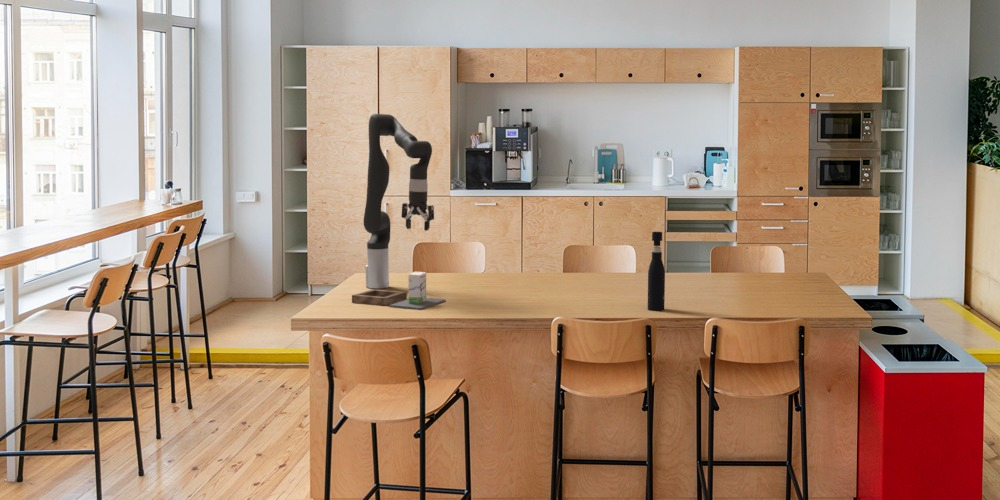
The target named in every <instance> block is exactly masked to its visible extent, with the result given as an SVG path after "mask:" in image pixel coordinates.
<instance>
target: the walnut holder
mask: <svg viewBox="0 0 1000 500" xmlns="http://www.w3.org/2000/svg"><path fill="white" fill-rule="evenodd" d="M405 300H408V295H407V291H398V290H386V289H385V290H384V289H376V288H372V289H370V290H366V291H362V292H358V293H356V294H351V303H353V304H363V305H373V306H374V305H376V306H390V305H392V304H395V303H398V302H401V301H405Z"/></svg>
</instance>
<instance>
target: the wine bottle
mask: <svg viewBox="0 0 1000 500" xmlns="http://www.w3.org/2000/svg"><path fill="white" fill-rule="evenodd" d="M651 241H652V242H653V247H652V252H651V261H650V263H649V266H648V272H647V274H648V275H647V310H648V311H653V312H660V311H661V312H662V311H664V310H665V300H666V299H665V298H666V297H665V295H666V294H665V291H666V290H665V288H666V287H665V286H666V284H665V283H666V271H665V266H664V262H663V258H662V257H663V252H662V247H661V242H662V241H663V232H662V231H652V233H651Z"/></svg>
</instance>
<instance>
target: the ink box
mask: <svg viewBox="0 0 1000 500" xmlns="http://www.w3.org/2000/svg"><path fill="white" fill-rule="evenodd" d="M407 277H408V299H409V304H421V303H423V302H425V301H426V298H427V272H425V271H413V272H411V273H409V274H408V276H407Z"/></svg>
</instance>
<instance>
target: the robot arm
mask: <svg viewBox="0 0 1000 500" xmlns="http://www.w3.org/2000/svg"><path fill="white" fill-rule="evenodd" d="M384 136H385V137H393V138H394V142H395V144H397V146H398V147H400V148H401V149H403V151H404V152H405V154H406V156H407V157H409V158H410V159H419V160H418V162H417V163H415V164H414V163H413V164H411V165H410V167H409V168H410V169H409V182H408V201H409V202H408V203H407V202H404V203H402V205H401V218H403V219H405V228H406V229H407V230H411V227H412V217H413V216H416V215H417V216H421V218H423V220H424V224H423V226H424V228H423V230H424V231H429V229H430V226H431V225H430V222H431V221H433V220H435V206H434V205H433V204H431V205H428V190H429V189H428V188H429V187H428V169H429V165H430V160H431V158H432V154H433V147H432V144H431V143H430V142H429V141H428V140H418V139H417V137H416V136H415V135H414V134H412V133H411V132H409V131H407V130H406V129H405V127H404V126H403V125H402V124H401V123H400V122H399V120H398V119H397V118H396V117H395V116H393V115H392V114H385V113H373V114H371V115H370V117H369V119H368V163H367V164H368V166H367V182H366V183H367V187H366V198H365V199H366V200H365V206H364V207H365V208H364V214H363V227H364V229H365V231H366V232H367V233H369V234H371V235H370V238H369V239H368V241H367V242H366V254H367V258H366V259H367V265H365V288H369V289H387V288H389V287H390V274H389V273H390V271H389V270H390V268H389V267H390V263H389V261H390V260H389V259H390V258H389V254H390V253H389V243H390V242H391V218H390V217H389V214H388V213H387V212H385V211H382V204H383V203H382V202H383V199H384V196H385V193H386V191H387V188H388V186H389V181H390V164H389V162H388V159H387V158H386V156H385V154H384V152H383V150H382V147H381V137H384ZM408 209H409V210H408Z"/></svg>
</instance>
